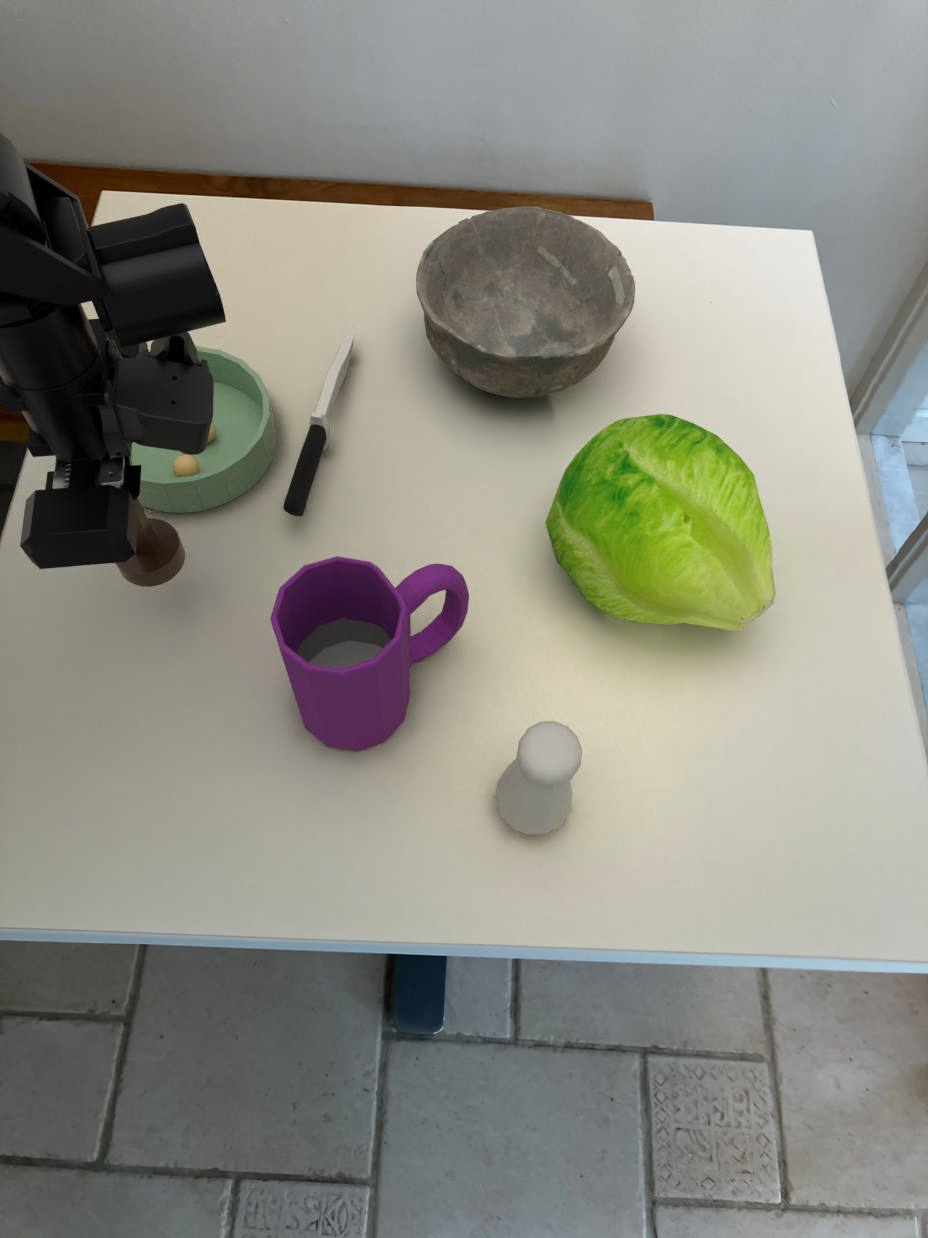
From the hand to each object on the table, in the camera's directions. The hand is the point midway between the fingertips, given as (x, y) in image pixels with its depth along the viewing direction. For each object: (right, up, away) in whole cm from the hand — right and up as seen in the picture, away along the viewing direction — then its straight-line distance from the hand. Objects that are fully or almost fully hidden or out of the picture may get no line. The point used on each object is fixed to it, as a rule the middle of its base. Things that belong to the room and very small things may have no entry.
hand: (127, 511), depth 65 cm
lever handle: (0, -3, +6) cm, 7 cm away
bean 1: (-1, +5, +17) cm, 18 cm away
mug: (+18, -13, +9) cm, 24 cm away
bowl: (+30, +19, +27) cm, 45 cm away
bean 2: (0, +9, +19) cm, 21 cm away
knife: (+11, +10, +21) cm, 26 cm away
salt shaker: (+30, -22, +4) cm, 38 cm away
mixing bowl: (-1, +9, +20) cm, 22 cm away
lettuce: (+41, -4, +14) cm, 44 cm away
